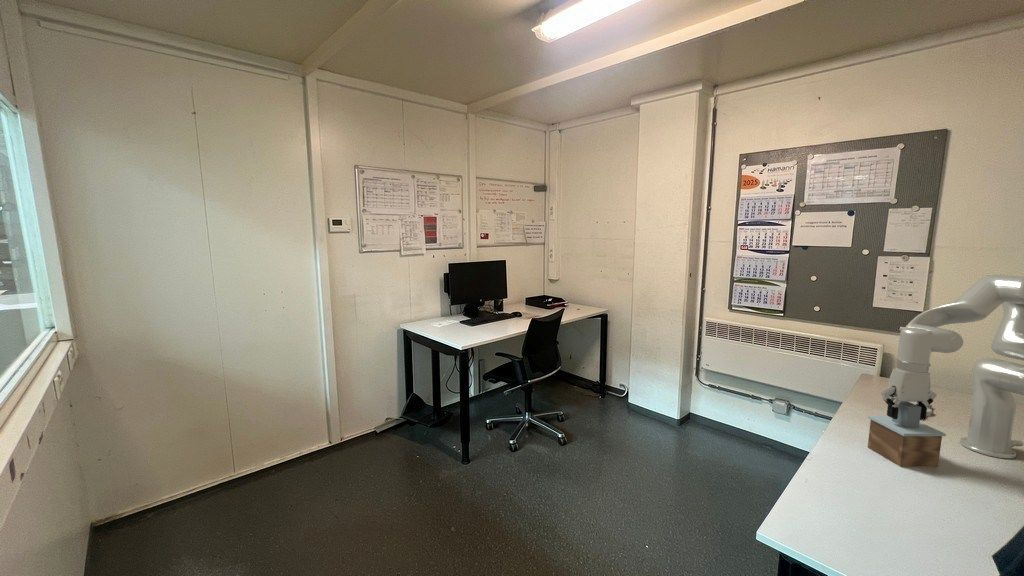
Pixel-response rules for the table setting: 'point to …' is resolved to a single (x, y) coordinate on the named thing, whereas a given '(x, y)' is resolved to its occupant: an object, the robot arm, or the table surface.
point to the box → (904, 447)
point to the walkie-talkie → (929, 410)
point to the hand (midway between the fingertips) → (905, 417)
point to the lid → (907, 421)
